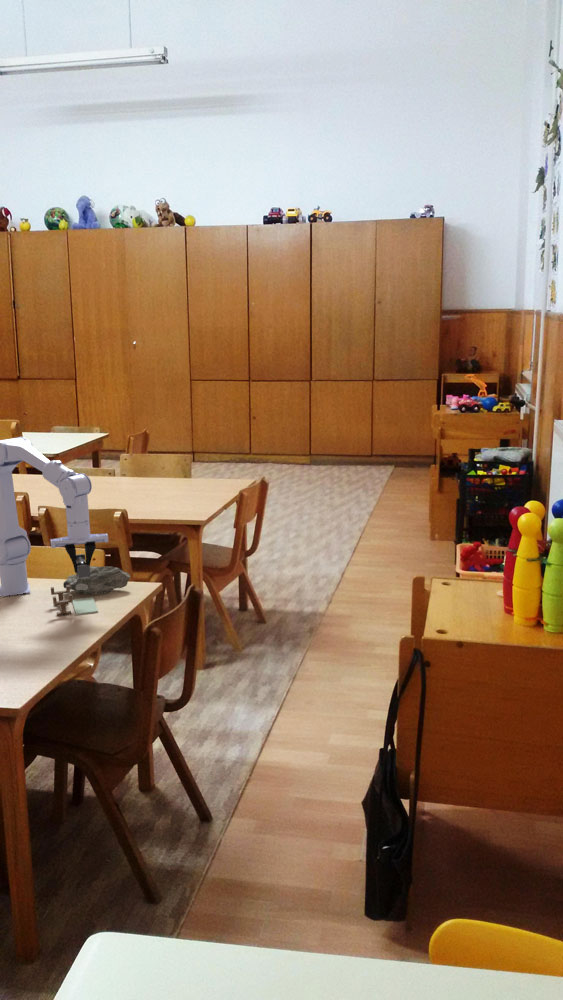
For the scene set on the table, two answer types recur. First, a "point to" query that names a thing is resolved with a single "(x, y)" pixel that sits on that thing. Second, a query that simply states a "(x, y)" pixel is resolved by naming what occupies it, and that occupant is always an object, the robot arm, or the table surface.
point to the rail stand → (62, 600)
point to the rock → (98, 580)
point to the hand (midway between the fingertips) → (82, 571)
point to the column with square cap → (82, 566)
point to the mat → (84, 606)
